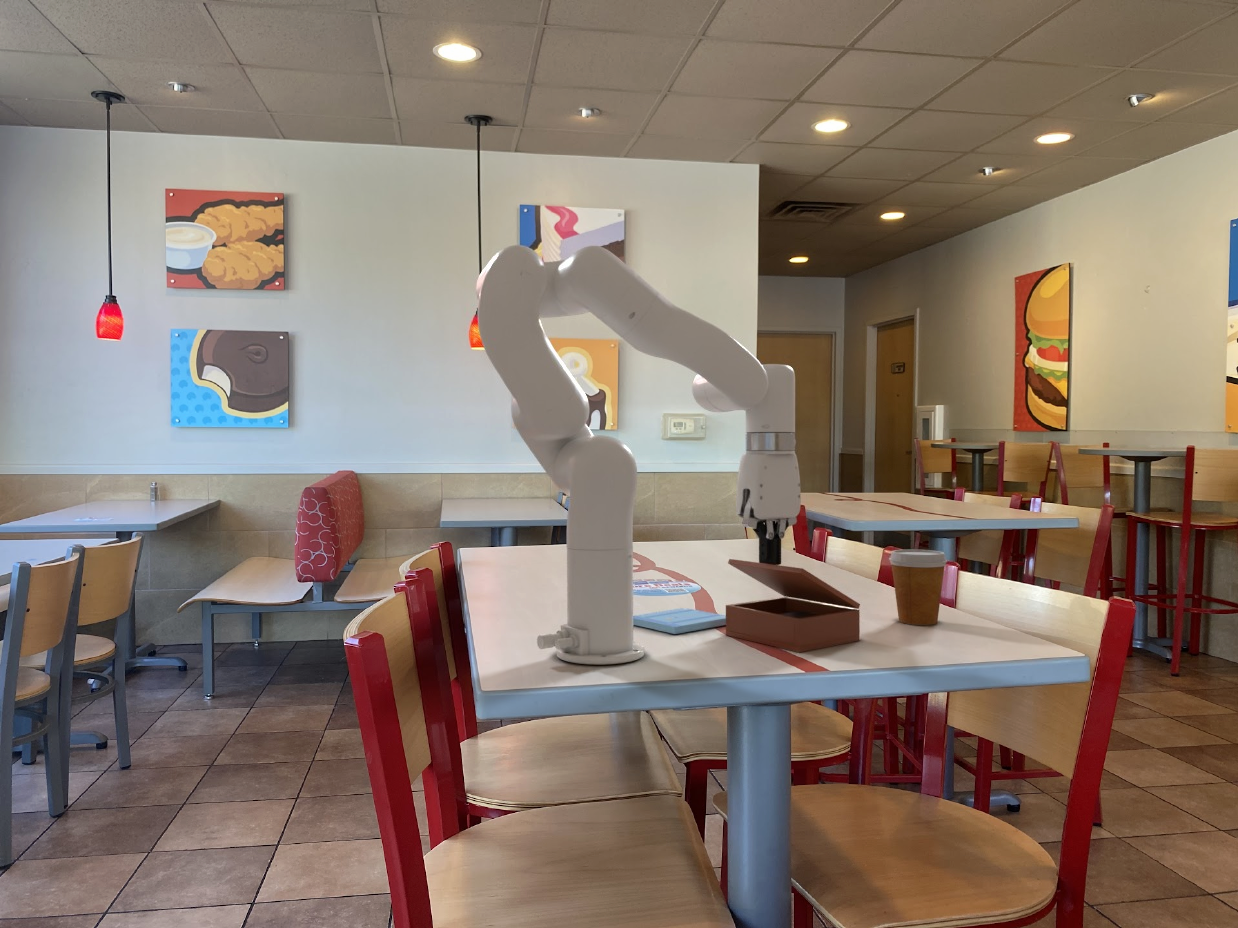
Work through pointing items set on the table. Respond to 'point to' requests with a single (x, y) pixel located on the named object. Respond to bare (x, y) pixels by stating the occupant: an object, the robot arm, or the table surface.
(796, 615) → the dark grey block
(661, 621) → the light blue flat block
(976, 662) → the table surface
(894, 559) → the disposable coffee cup
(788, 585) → the cover
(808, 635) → the flip case
